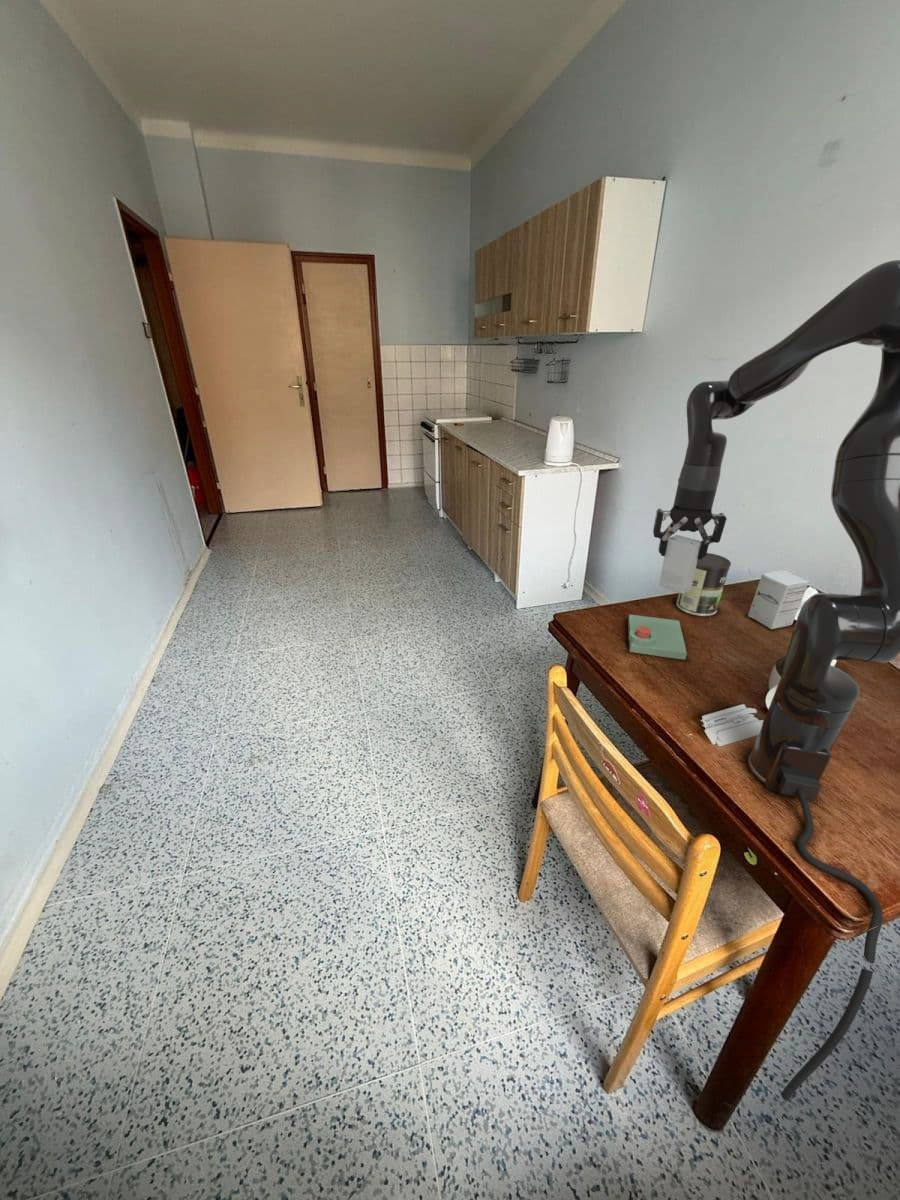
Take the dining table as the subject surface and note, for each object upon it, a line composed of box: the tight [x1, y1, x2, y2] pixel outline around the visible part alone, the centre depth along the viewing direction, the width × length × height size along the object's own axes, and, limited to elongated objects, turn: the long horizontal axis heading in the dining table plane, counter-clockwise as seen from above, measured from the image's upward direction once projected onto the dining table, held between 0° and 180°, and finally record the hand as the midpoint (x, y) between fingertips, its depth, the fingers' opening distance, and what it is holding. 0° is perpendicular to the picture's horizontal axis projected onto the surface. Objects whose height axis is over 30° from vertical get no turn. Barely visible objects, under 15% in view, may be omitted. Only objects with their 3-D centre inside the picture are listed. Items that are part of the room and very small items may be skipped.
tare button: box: [636, 626, 651, 639], centre depth 111 cm, size 3×3×2 cm
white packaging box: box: [747, 569, 810, 630], centre depth 119 cm, size 7×7×13 cm
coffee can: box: [675, 552, 732, 617], centre depth 126 cm, size 10×10×14 cm
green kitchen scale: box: [627, 614, 688, 661], centre depth 115 cm, size 15×12×4 cm
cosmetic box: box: [658, 534, 702, 594], centre depth 108 cm, size 6×4×12 cm
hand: (680, 556), depth 107 cm, fingers closed on cosmetic box, 7 cm apart
